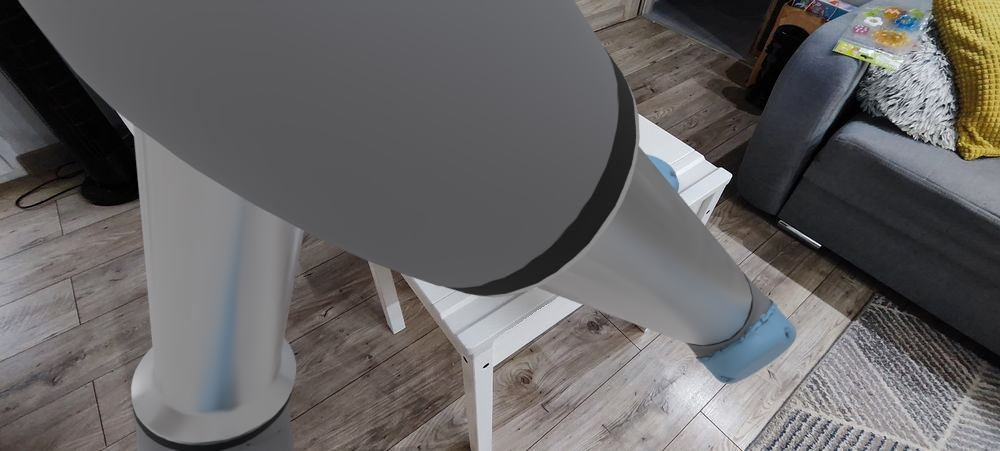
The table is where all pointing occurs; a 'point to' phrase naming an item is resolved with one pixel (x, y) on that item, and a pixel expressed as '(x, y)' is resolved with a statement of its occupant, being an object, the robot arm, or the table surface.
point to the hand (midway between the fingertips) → (442, 139)
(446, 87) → the robot arm
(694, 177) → the table surface
